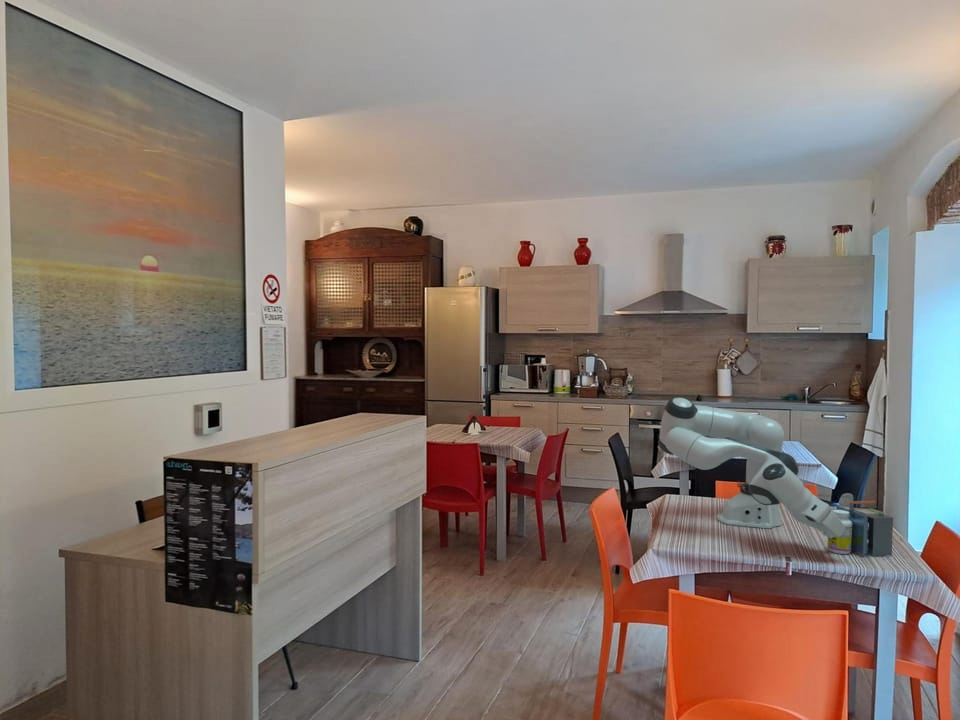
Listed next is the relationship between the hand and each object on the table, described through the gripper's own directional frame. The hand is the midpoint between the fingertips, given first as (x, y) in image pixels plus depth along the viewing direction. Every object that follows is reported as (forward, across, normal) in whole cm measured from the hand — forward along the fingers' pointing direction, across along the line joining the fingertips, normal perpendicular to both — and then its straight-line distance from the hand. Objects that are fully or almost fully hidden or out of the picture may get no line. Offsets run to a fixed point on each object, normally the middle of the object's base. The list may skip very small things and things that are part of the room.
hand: (830, 535), depth 214 cm
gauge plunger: (+12, 0, +6) cm, 13 cm away
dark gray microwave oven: (+14, 0, +6) cm, 15 cm away
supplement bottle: (+7, 0, -1) cm, 7 cm away
